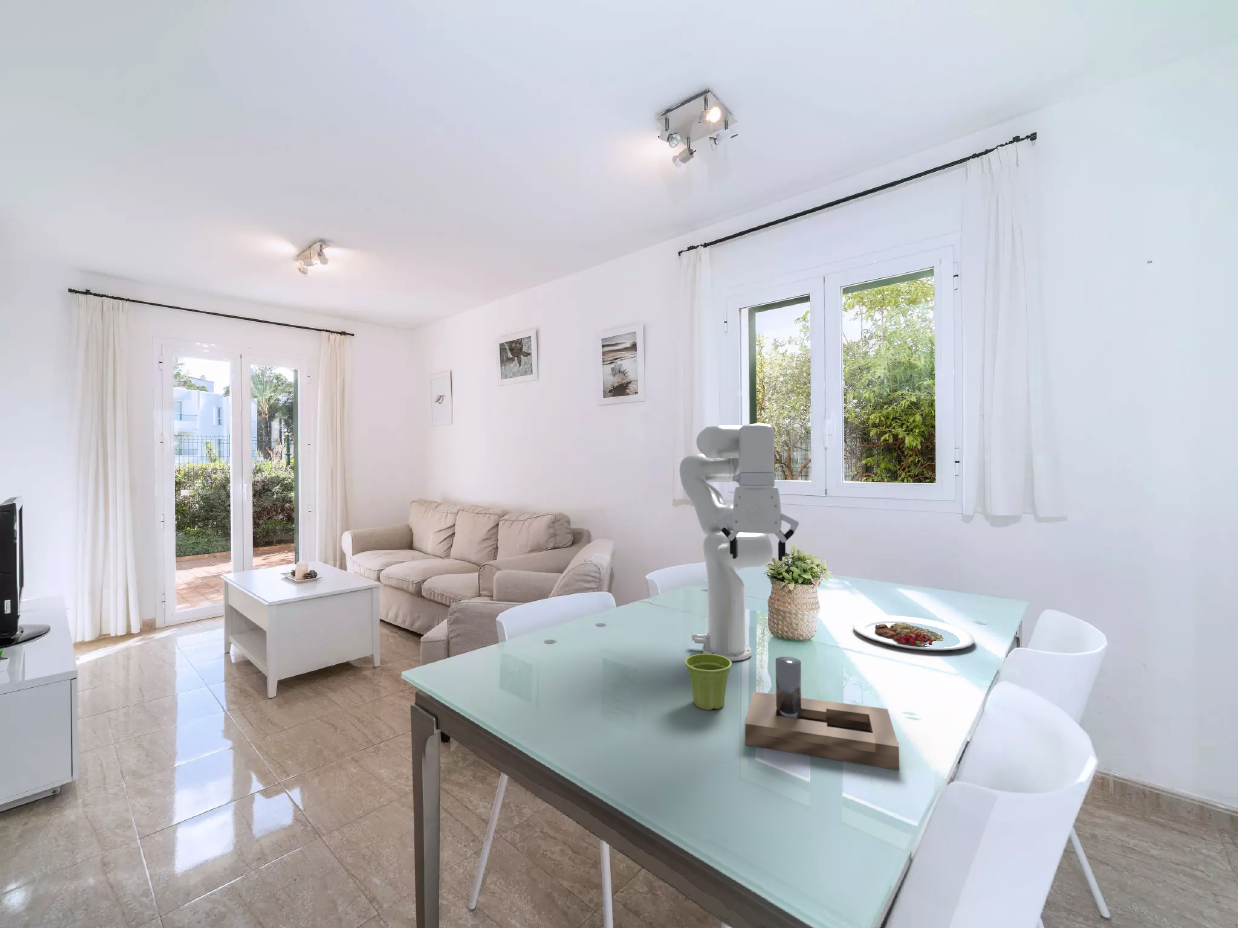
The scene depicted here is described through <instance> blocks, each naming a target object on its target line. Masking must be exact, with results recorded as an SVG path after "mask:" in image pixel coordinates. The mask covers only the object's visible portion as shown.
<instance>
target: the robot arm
mask: <svg viewBox="0 0 1238 928" xmlns="http://www.w3.org/2000/svg"><path fill="white" fill-rule="evenodd" d="M695 442H696V447H697V449H698V450H699V452H700V453H696V454H690V455H688V456H685V457H683V459H682V460H681V461H680V464H679V477H680V482H681V486H682V488H683V491H684V492H685V494H686V495H687V497H688V499H690V502H692V504H693V506H694V509H695V512H696V516H697V519H698V523H699V525H700V528H701V529H702V531H703V533H704V535H705V536H706V537H705V538H704V540H703V556H704V561H705V568H706V579H707V584H706V585H707V587H706V588H707V633H703V634H702V633H701V634H700V633H693V632H692V634H691V641H693V642H694V644H700V645H701V644H703V645H702V651H701V652H702V654H716V655H720V656H724V657H726V658H728V659H729V660H730V661H731V662H738V661H743V660H747V659H749V658H750V657H752V654H753V651H752V648H751V647H750V646H749V645H747V644H746V589H745V583H744V581H743V580H742V578H741V577H740V576H739V574H738V573H737V572H736V571H735V570H736V569H740V568H762V567H765V566H767V565H769V564H770V563H771V561H772V559H773V554H774V553H773V545H772V542H771V538H770V536H769V535H773V534H774V535H775V536H776V537H777V538H778V543H777V549H778V550H777V559H778V562H783V557H784V558H785V557H786V556H787V554H786V553H787V550H786V549H787V548H786V542H787V541H788V540H789V539H791V537H792V536H793V535H794V534H795V532H796V530H797V528H798V527H799V524H800V522H799V521H798V520H796V519H794V517H793V518H792V517H790V516H789V515H786V514H785V513H783V512H782V506H781V496H780V490H779V487H778V486H775V481H776V480H775V431H774V428H773V426H772V425H771V424H768V423H751V424H750V423H749V424H744V425H743V424H742V425H714V426H713V425H712V426H711V425H710V426H706V427H705V428H704V429H702V430H701V431H700V432H699V433H698V435H697V437H696V441H695ZM731 482H735V483H737V484H738V486H736V487H735V488H734V495H733V502H732V503H727V502H725V500H724V498H723V495H722V494H721V492H720V491H719V490H718V489H717V488H715V487H714V486H713V485H712V484H710V483H731ZM782 521H783V522H785V523H787V524H789V525H790V527H789V529H788V530H787V531H786V532H785V533H784V532H783V531H782V530H781V528H782Z"/></svg>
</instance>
